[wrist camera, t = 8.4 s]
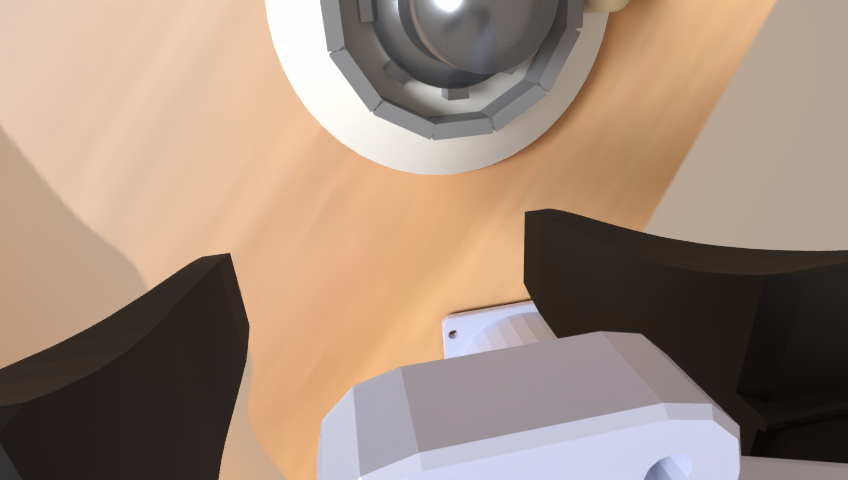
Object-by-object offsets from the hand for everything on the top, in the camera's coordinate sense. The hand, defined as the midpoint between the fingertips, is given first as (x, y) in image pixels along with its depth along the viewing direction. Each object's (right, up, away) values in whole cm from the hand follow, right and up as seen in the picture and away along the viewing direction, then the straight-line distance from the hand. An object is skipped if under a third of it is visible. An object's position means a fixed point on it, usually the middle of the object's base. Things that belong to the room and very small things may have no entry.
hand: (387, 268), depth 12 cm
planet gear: (+2, +9, +6) cm, 11 cm away
